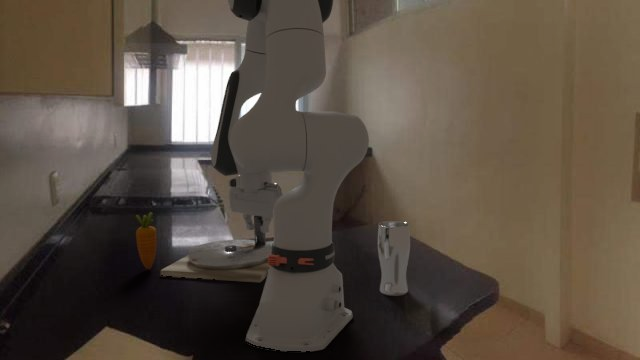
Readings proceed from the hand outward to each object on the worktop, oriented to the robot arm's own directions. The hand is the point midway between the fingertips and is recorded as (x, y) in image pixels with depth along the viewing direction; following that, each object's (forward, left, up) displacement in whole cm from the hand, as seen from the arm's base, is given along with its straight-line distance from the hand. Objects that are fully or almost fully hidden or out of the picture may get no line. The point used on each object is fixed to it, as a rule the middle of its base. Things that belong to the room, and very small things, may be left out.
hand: (257, 230), depth 131 cm
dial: (-7, +5, -6) cm, 10 cm away
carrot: (-16, +24, -8) cm, 30 cm away
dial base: (-7, +5, -7) cm, 11 cm away
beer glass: (-20, -39, -8) cm, 45 cm away
